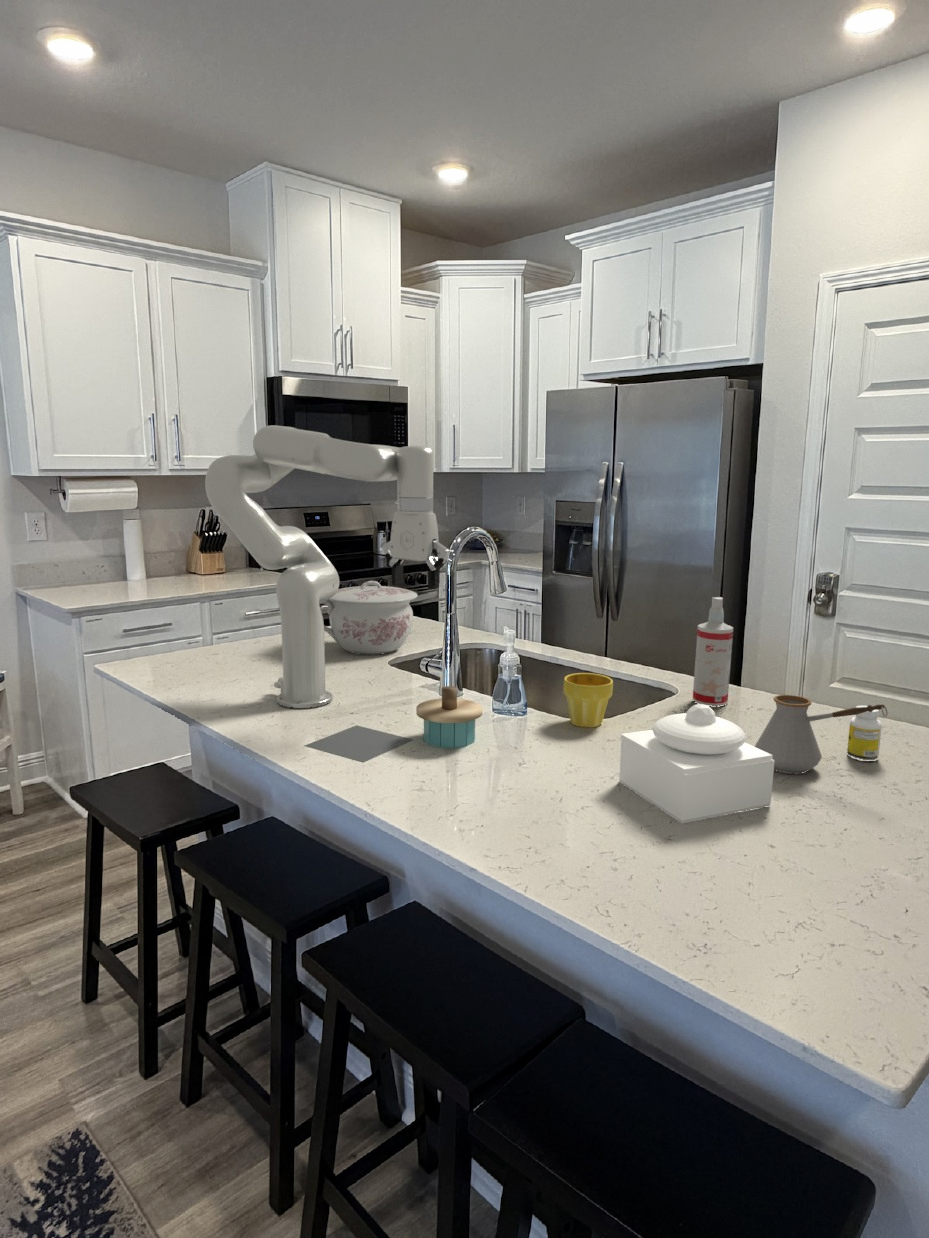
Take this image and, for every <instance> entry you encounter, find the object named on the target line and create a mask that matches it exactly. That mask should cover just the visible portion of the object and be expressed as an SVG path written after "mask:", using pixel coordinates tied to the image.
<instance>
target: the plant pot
mask: <svg viewBox="0 0 929 1238" xmlns="http://www.w3.org/2000/svg"><path fill="white" fill-rule="evenodd" d="M613 689H614V680H613V679H612V678H611V677H609V676H607V675H603V674H598V673H593V672H592V673H591V672H577V673H571V674H568V675H565V677H564V678H563V694H564V696H566V701H567V706H568V712H569V713H568V714H569V717H570V718H569V719H570V723H571V724H572V725H574V726H577V727H579V726H580V728H587V727H589V728H590V727H591V728H597V727H600V726H601V725H602V724H601V723H603V720H604V716H605V712H606V709H607V707H608V702H609V700H610V699H611V697H612V696H613V692H614V691H613ZM600 724H601V725H600ZM599 725H600V726H599Z"/></svg>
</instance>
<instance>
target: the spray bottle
mask: <svg viewBox="0 0 929 1238" xmlns="http://www.w3.org/2000/svg"><path fill="white" fill-rule="evenodd" d="M723 600H724V598H723V597H721V596H716V597H714V596H712V597H711V607H710V609H709V611H708V619H707V621H706V622H703V623H700V624H698V625H697V633H696V646H695V647H696V648H695V660H694V661H695V662H694V674H693V677H694V678H693V689H692V701H693V700H694V701H695V702H697V703H699V704H704V705H712V706H718V705H719V706H720V705H725V704H727V705H728V704H729V703H728V700H729V689H730V688H729V687H730V678H731V677H730V675H731V662H732V652H733V650H732V649H733V639H734V638H733V637H734V627H733V626H731V625H728V624H727V623H725V622H724V619H725V612H724V608H723V604H724V603H723Z"/></svg>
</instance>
